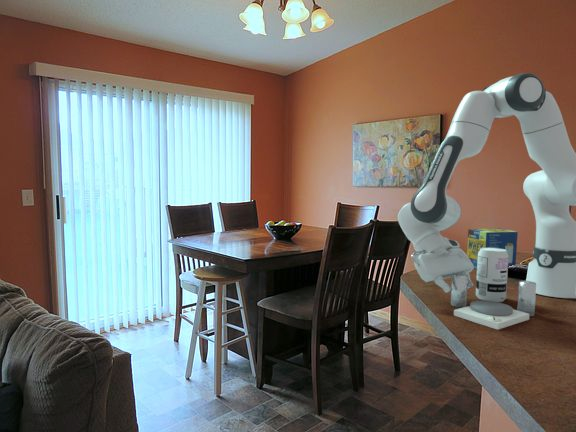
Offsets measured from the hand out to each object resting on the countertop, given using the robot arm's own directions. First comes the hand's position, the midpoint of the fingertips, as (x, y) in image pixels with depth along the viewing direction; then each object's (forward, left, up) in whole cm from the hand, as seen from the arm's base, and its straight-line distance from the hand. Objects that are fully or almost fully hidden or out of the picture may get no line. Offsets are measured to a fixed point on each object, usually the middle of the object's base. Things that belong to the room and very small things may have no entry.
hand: (460, 289), depth 117 cm
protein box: (-56, -25, -5) cm, 62 cm away
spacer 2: (-9, +14, -5) cm, 17 cm away
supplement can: (-14, +1, -5) cm, 15 cm away
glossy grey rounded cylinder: (0, 0, -5) cm, 5 cm away
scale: (+2, +11, -5) cm, 12 cm away
